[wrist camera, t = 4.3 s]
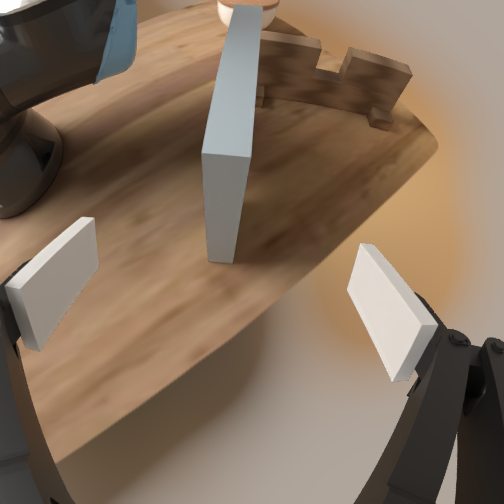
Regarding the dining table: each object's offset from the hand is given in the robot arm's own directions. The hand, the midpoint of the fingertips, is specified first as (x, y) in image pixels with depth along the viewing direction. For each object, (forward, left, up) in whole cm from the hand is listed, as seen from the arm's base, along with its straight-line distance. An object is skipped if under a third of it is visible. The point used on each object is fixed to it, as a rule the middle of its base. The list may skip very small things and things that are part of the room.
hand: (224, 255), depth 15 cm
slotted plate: (-10, +10, -17) cm, 22 cm away
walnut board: (-14, +30, -17) cm, 37 cm away
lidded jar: (-36, +35, -17) cm, 53 cm away
